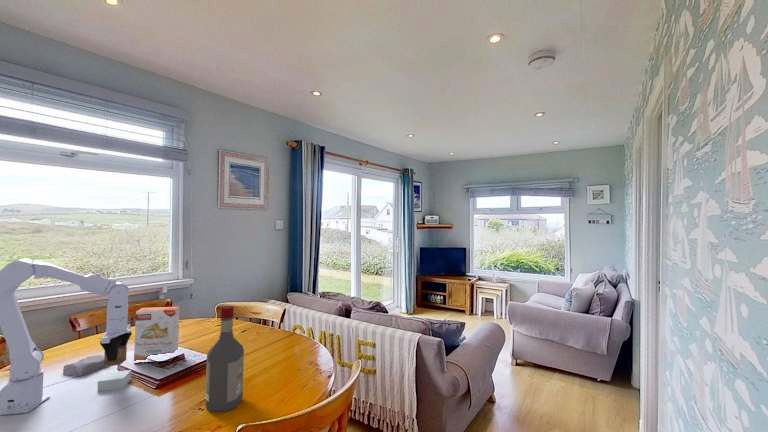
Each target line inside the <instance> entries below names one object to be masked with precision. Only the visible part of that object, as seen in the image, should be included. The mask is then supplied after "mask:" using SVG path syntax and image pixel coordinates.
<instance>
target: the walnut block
mask: <svg viewBox="0 0 768 432" xmlns="http://www.w3.org/2000/svg"><path fill="white" fill-rule="evenodd" d="M127 346H128V345H126V346H119V348H118V353H117V358H116V360H115V361H108V360H107V356H106V353H105V352H104V354H103V355H104V366H105V367H109V366H110V367H112V366H113V367H114V366H120V365H121V364H123V363H124V362H126V361H127V354H128V353H127V349H128V347H127Z"/></svg>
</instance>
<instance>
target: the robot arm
mask: <svg viewBox="0 0 768 432" xmlns="http://www.w3.org/2000/svg"><path fill="white" fill-rule="evenodd" d="M33 276H34V277H33ZM32 277H33V280H36V279H37V280H38V279H44V278H51V279H56V280H59V281H63V282H67V283H71V284H75V285H78V286H79V288H80V290H81V291H83V292H87V293H90V294H93V295H97V296H100V297H101V296H102V297H106V296H107V299H108V304H107V306H106V309H107V310H106V331H105V332H104V335H103V336H102V337H101V340H100V342H99V344H100V346H101V347H102V348H103V350H104V354H105V353H106V356H107V360H108V361H115V360H116V358H117V353H118V348H119V346H128V342H129V340H130V338H131V336H132V334H133V332H132V329H131V326H132V325H131V324H129V322H128V319H129V317H128V316H129V295H130V293H131V291H130V289H129V286H128V285H127V283H125V282H123V281H121V280H117V279H116V278H113V279H110V278H108V277H104V276H102V274H101V273H99V272H98V273H97V272H96V274H95V273H90V274H85V275H84V274H81V273H78V272H75V271H72V270H70V269H66V268H63V267H60V266H57V265H54V264H52V263H48V262H44V261H39V260H35V261H34V260H33V259H31V258H27V257H26V258H25V257H24V258H17V259H15V260H13V261H12V262H9V263H7V264H6V265H5V266H3V268H1V269H0V329H1V333H2V335H3V337H4V339H5V343H6V345H7V348H8V352H9V354H8V355H9V356H8V357H9V361H10V367H9V369H8V372H9V377H8V382H7V383H6V385H5V386H3V387H2V388H1V389H0V416H7V415H18V414H27V413H29V412H31V411H32V410H34V409H35V408H36V407H37V406H39V405H41V404H42V403H43V402H45V401H46V400H48V399H49V398H50V397H51V395H43V391H44V374H45V373H44V369H43V368H42V367H41V363H43V361H44V358H45V357H44V356H45V355H44V353H43V351H42V350H40V349H39V348H38V347H37V345H36V343H35V342H34V341H33V339H32V338H31V335H30V332H29V329H28V327H27V324H26V321H25V318H24V316H23V313H22V311H21V308H20V305H19V303H18V299H17V297H16V294H15V292H16V291H17V290H18V289H19V287H20V286H21V285H22V284H23V283H25V282H26V281H28V280H30V278H32Z"/></svg>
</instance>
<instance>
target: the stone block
mask: <svg viewBox="0 0 768 432" xmlns="http://www.w3.org/2000/svg"><path fill="white" fill-rule="evenodd" d="M104 367H106V366H104V354H95V355H92V356H88V357H85V358H81V359H80V360H78V361H76V362H71V363H68V364H65V365H63V369H62V372H63V375H66V376H76V377H77V376H78V377H82V376H86V375H88V374H90V373H92V372H94V371H97V370H99V369H101V368H104Z"/></svg>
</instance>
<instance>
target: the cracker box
mask: <svg viewBox="0 0 768 432" xmlns="http://www.w3.org/2000/svg"><path fill="white" fill-rule="evenodd" d="M179 328H180V306H163V307H161V306H158V307H142V308H140V309H138V310H136V311H135V325H134V349H133V353H134V354H133V362H134V361H136V360H146V359H147V357H148V356H150V355H158V354H166V353H174V352H175V351H176V350H178V351H179V334H180V333H179V332H180V331H179Z"/></svg>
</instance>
